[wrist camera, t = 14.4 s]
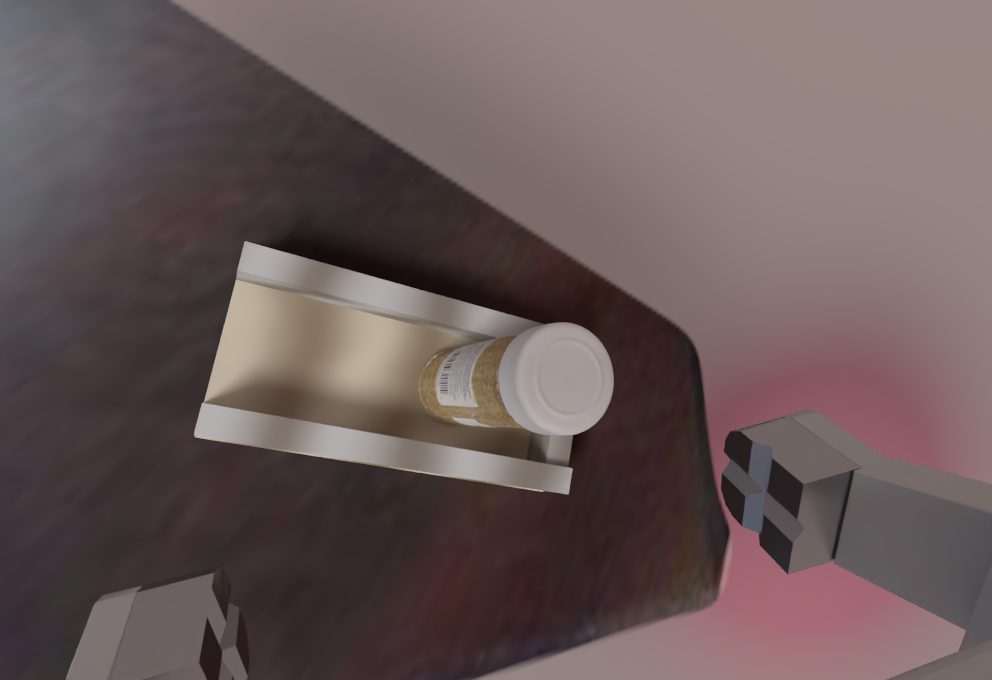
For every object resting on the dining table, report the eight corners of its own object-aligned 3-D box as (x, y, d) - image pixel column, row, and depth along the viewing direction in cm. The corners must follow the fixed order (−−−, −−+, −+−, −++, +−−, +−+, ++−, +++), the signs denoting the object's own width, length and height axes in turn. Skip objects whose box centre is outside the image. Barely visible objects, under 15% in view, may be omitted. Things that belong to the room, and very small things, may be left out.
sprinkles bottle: (458, 440, 36) (580, 460, 24) (399, 392, 35) (495, 388, 23) (501, 379, 37) (636, 368, 25) (446, 331, 36) (559, 296, 24)
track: (195, 436, 31) (192, 440, 28) (243, 252, 33) (246, 233, 29) (535, 489, 39) (567, 498, 35) (560, 337, 41) (593, 331, 37)
